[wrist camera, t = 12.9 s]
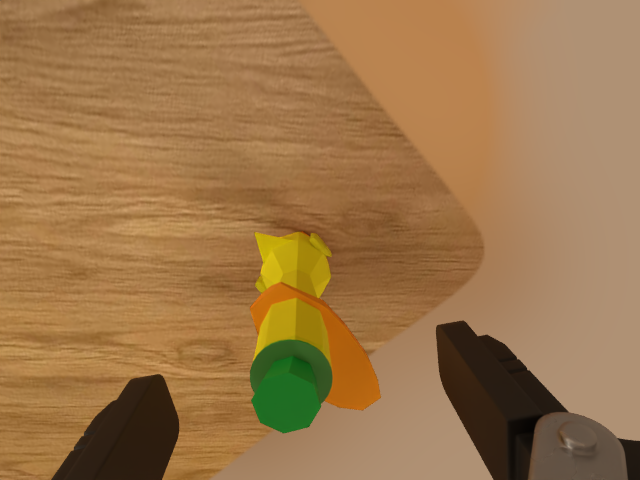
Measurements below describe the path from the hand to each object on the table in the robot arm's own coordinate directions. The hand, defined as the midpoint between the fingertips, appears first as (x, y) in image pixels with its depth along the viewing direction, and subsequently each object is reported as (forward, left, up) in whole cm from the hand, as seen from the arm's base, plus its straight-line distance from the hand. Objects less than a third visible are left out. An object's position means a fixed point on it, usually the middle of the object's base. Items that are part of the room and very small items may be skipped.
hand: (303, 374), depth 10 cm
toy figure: (0, 0, -10) cm, 10 cm away
